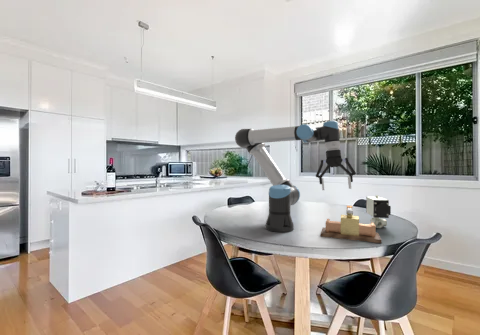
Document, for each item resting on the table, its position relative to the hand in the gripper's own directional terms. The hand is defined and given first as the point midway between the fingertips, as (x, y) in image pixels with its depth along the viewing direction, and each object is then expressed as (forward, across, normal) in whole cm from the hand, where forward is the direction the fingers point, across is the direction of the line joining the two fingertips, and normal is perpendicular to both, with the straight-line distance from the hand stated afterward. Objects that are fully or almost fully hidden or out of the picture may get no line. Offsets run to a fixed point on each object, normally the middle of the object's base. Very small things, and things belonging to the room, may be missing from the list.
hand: (336, 189), depth 132 cm
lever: (+11, +4, -5) cm, 13 cm away
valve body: (+21, +2, -10) cm, 24 cm away
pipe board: (+22, +2, -10) cm, 25 cm away
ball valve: (+24, +22, +12) cm, 35 cm away
